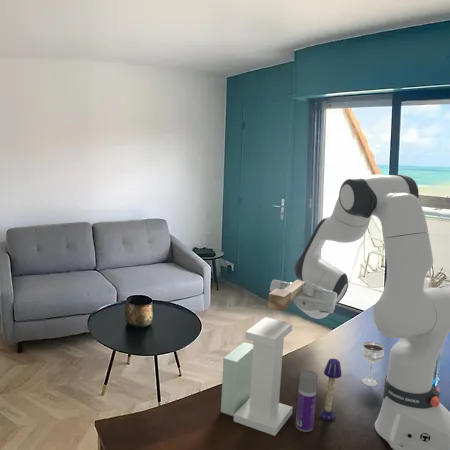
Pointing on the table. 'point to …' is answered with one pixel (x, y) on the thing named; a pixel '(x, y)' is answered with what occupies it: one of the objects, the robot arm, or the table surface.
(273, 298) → the tan long block
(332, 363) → the toy lamp
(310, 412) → the container
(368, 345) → the wineglass
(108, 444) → the table surface
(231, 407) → the pale green rectangular block
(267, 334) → the white i-beam pillar
